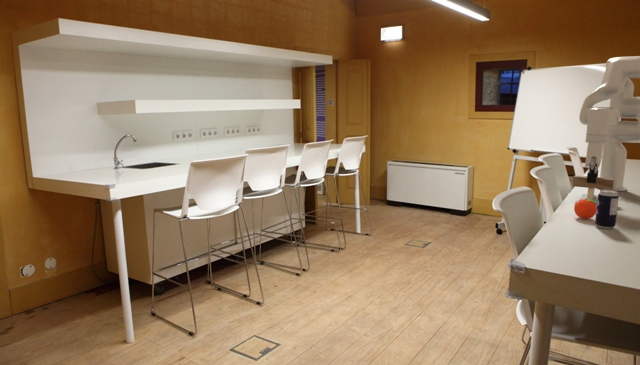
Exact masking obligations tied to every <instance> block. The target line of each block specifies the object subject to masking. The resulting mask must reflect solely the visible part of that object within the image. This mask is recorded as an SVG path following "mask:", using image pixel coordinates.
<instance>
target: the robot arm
mask: <svg viewBox="0 0 640 365" xmlns="http://www.w3.org/2000/svg"><path fill="white" fill-rule="evenodd" d="M631 79H640V55H637V56H636V55H634V56H628V55H627V56H617V57H612V58H609V59H608V60H607V61H606V63H605V71H604V74H603V77H602V80H601V84H600V86H599V87H597V88H596V89H594V90H592V92H590V93H589V94H588V95H587V96H586V97H585V99H584V100H583V102H582V105H581V108H580V112H579V118H578V119H579V122H580V123H581V124H582V125H584V126H586V135H585V141H584V142H585V143H587V148H586V149H587V150H586V155H585V157H586V158H585V164H584V167H585V168H588V170H587V171H588V172H587V174H586V175H587V183H596V177H598V176H599V177H600V178H613V179H614V184H613V191H617V192H621V191H622V192H623V191H626V190H627V189H628V187H627V186H625V185H624V183H625V182H624V180H625V172H626V164H627V157H628V156H627V155H628V151H627V149H626V147H625V146H624V145H623V143H633V144H634V143H636V144H637V143H638V144H640V96H634V93H635V92H634V91H635V85H634V83H633V81H632V80H631ZM607 100H610V101H609V107H608V106H606V107H605V106H595V105H597V104H599V103H601V102H605V101H607ZM621 119H636V120H637V121H636V120H634V121H632V120H631V121H629V120H621ZM599 168H600V175H599ZM602 190H608V189H602Z"/></svg>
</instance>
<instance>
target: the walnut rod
mask: <svg viewBox="0 0 640 365" xmlns="http://www.w3.org/2000/svg"><path fill="white" fill-rule="evenodd" d="M613 184H614V179H613V178H600V176H599V177H596V183H587V176H584V175H574V176H573V179H572V187H578V188H586V189H588V188H595V189H598V190H603V189H608V190H613Z"/></svg>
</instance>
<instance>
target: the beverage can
mask: <svg viewBox="0 0 640 365" xmlns="http://www.w3.org/2000/svg"><path fill="white" fill-rule="evenodd" d="M597 195H598V201H597V206H596V207H597V211H596V214H595V222H594V224H595V225H596V226H597V227H598V228H600V229H604V230H610V229H611V230H612V229H613V228H615V227H616V224H617V216H618V205H619V198H620V196H619V191H613V190H603V189H599V192H598V194H597Z"/></svg>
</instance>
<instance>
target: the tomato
mask: <svg viewBox="0 0 640 365" xmlns="http://www.w3.org/2000/svg"><path fill="white" fill-rule="evenodd" d="M579 200H580V199H579ZM579 200H578V201H577V202H575V205H574V206H573V210H574V213H575V214H576V216H577V217H578V218H580V219H583V220H589V219H591V218H593V217H594V216H596V211H597V206H596V205H595V203H594V202H595V201H594V202H593V200H588V199H582V200H580V201H579ZM596 203H597V202H596Z"/></svg>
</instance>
